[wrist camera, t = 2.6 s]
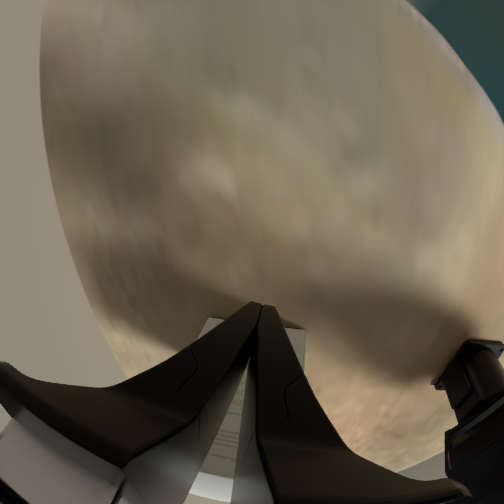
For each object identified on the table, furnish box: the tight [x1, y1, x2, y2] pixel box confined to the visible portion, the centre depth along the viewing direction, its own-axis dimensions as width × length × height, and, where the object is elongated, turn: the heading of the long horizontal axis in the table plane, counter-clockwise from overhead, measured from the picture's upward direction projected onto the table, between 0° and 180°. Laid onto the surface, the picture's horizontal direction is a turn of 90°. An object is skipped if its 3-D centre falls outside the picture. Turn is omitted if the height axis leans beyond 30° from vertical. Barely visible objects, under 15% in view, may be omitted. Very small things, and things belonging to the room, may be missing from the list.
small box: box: [189, 317, 306, 502], centre depth 17 cm, size 8×6×13 cm
